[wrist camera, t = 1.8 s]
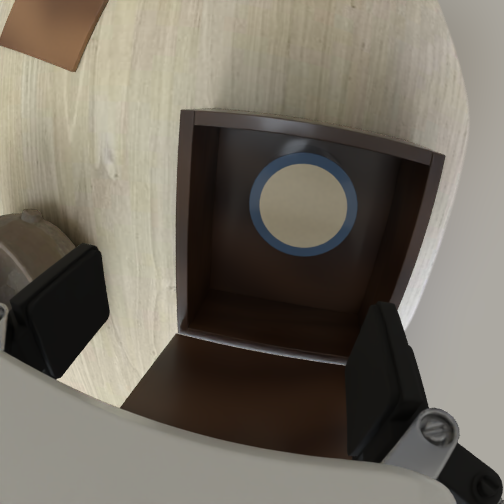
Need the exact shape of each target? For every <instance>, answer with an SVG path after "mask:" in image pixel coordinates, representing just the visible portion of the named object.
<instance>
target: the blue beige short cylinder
mask: <svg viewBox="0 0 504 504" xmlns="http://www.w3.org/2000/svg"><path fill="white" fill-rule="evenodd" d="M249 210H250V215H251V219H252V222H253V224H254V226H255V228H256V230H257V231H258V233H259V234H260V236H261V237H262V238H263V239H264V240H265V241H266V242H267V243H268V244H270V245H271V246H272V247H274V248H275V249H277V250H279V251H281V252H284V253H286V254H290V255H294V256H315V255H319V254H322V253H325V252H327V251H329V250H331V249H333V248H335V247H336V246H337V245H339V244H340V243H341V242H342V241H343V240H344V239H345V238H346V237H347V236H348V234H349V233H350V231H351V230H352V227H353V225H354V223H355V220H356V216H357V210H358V202H357V195H356V191H355V188H354V185H353V183H352V181H351V179H350V178H349V176H348V174H347V172H346V171H345V169H344V167H343V166H342V164H341V163H340V162H339V160H338V159H337V158H336V157H335V156H333V155H332V154H331V153H329V152H328V151H326V150H324V149H322V148H319V147H316V146H312V145H296V146H291V147H288V148H286V149H283V150H281V151H280V152H278V153H277V154H275V155H274V156H273V157H272V158H271V159H270V160H269V161H268V163H267V164H266V165H265V166H264V168H263V169H262V170H261V172H260V173H259V174H258V176H257V177H256V179H255V181H254V183H253V185H252V188H251V191H250V197H249Z"/></svg>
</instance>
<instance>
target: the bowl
mask: <svg viewBox="0 0 504 504" xmlns="http://www.w3.org/2000/svg"><path fill="white" fill-rule="evenodd" d="M74 248H76V247H75V245H74V244H73V243H72V242H71V240H70V239H69V238H68V237H67V236H66V235H65V234H64V233H63V232H62V231H61V230H60V229H59V228H58V227H57V226H55V225H53V224H52V223H50V222H48V221H46V220H44V219H43V218H42V213H41V212H39V211H38V210H34V209H25V210H23V212H22V214H7V215H2V216H0V303H3V304H5V305H6V306H7V308H8V310H9V311H10V310H11V309H12V307H11V304H10V301H9V300H10V299H11V298H13V297H14V296H15V295H16V294H17V293H18V292H20V291H21V290H22V289H23V288H24V287H26V286H27V285H28V284H29V283H31V282H32V281H33V280H34V279H36V278H37V277H38V276H39V275H41V274H42V273H43V272H44V271H46V270H47V269H48V268H49V267H51V266H52V265H53V264H55V263H56V262H57V261H58V260H60V259H61V258H62V257H64V256H65V255H66V254H68V253H69V252H70V251H72V250H73V249H74Z"/></svg>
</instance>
